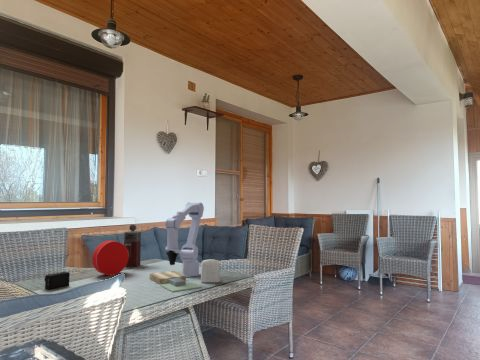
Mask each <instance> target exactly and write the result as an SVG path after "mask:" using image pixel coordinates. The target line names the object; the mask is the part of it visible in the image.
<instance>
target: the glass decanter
mask: <svg viewBox="0 0 480 360" xmlns="http://www.w3.org/2000/svg"><path fill="white" fill-rule="evenodd" d="M141 242H142V231H141V230H137V226H136V224H134V223H133V224H130V225H129V230H127V231H125V232H124V236H123V244H124V245H125V246H126V248H127V250H128V254H129V258H128V262H127V265H126V266H125V268H138V267H140V266H141V247H142V246H141V245H142V243H141Z"/></svg>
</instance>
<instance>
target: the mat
mask: <svg viewBox="0 0 480 360" xmlns="http://www.w3.org/2000/svg"><path fill="white" fill-rule="evenodd" d="M159 286H160V287H162V288H164V290H165V289H166V290H168V291H169V292H171V293H176V292H181V291H188V290H190V291H191V290H195V289H201V288H202V286H201V285H198V284H196V283H194V282H192V281H190V280H187V279H186V285H181V286H173V285H171V284H169V283H165V284H160V285H159Z"/></svg>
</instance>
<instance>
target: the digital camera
mask: <svg viewBox="0 0 480 360" xmlns="http://www.w3.org/2000/svg"><path fill="white" fill-rule="evenodd" d="M65 287H70V272H68V271H61V272H55V273H49V274H46V275H45V276H44V289H45V290H49V291H51V290H57V289H60V288H65Z"/></svg>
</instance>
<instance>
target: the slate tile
mask: <svg viewBox="0 0 480 360" xmlns="http://www.w3.org/2000/svg"><path fill="white" fill-rule="evenodd" d="M186 281H187V280H186ZM186 281H185V280H183V279H180V278H173V279H168V283H169V284H171V285H173V286H181V285H186Z"/></svg>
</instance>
